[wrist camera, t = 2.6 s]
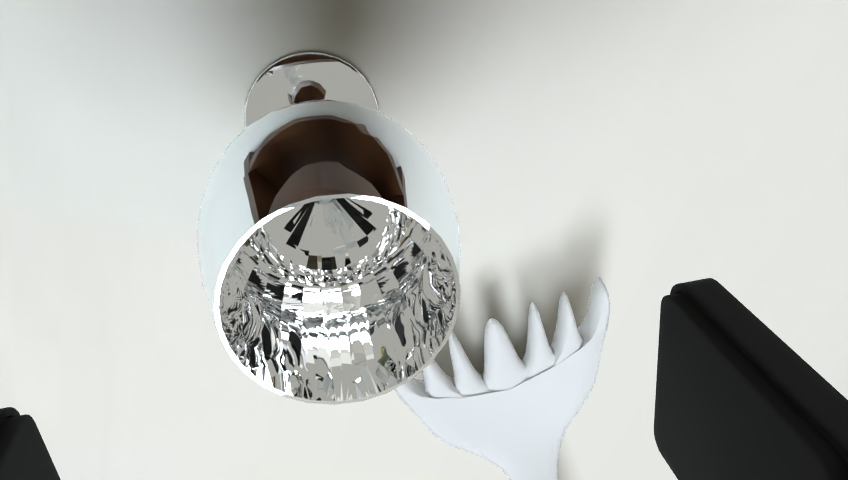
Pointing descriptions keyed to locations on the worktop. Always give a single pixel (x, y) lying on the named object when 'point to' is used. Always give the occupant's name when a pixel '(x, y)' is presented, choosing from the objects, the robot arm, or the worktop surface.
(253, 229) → the wineglass
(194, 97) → the worktop surface
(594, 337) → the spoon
